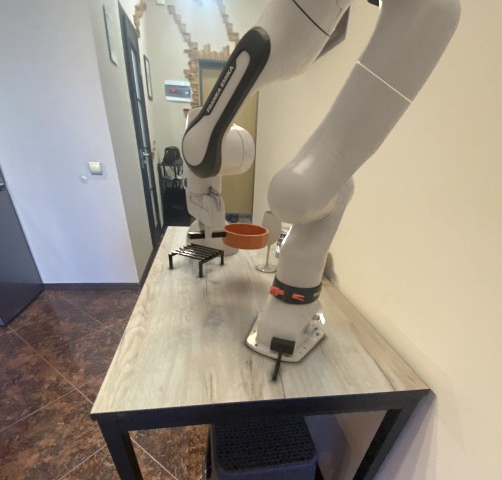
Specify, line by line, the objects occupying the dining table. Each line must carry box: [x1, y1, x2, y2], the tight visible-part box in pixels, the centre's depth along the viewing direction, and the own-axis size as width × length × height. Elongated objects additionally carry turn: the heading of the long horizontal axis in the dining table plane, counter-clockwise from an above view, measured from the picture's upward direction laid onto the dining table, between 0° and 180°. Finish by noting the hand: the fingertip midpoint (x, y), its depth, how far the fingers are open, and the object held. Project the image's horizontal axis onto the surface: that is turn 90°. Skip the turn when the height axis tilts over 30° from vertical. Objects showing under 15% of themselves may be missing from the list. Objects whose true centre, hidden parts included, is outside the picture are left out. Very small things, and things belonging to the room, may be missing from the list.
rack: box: [167, 243, 225, 278], centre depth 107 cm, size 16×14×6 cm
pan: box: [187, 222, 268, 251], centre depth 86 cm, size 25×14×4 cm, turn 118°
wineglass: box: [256, 210, 282, 273], centre depth 107 cm, size 8×8×21 cm
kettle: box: [185, 219, 238, 258], centre depth 121 cm, size 25×23×23 cm
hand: (205, 237), depth 83 cm, fingers closed on pan, 2 cm apart
